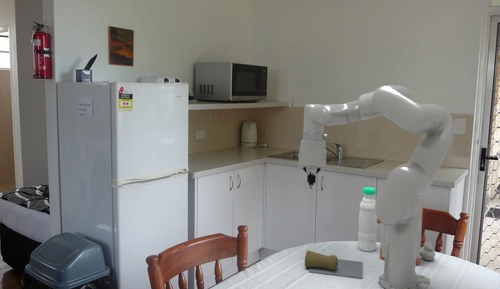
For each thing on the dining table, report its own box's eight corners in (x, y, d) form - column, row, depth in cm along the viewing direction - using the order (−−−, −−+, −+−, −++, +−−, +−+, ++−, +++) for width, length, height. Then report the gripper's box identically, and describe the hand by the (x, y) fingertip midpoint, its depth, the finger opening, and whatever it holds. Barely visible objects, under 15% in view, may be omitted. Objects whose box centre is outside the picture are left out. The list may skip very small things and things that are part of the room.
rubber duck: (424, 262, 158) (426, 242, 157) (415, 255, 164) (416, 236, 163) (438, 262, 159) (439, 241, 158) (428, 255, 165) (429, 235, 164)
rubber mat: (362, 262, 157) (362, 261, 157) (362, 278, 144) (362, 277, 144) (313, 257, 162) (313, 256, 162) (309, 272, 148) (309, 271, 148)
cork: (304, 270, 151) (336, 275, 147) (304, 255, 149) (336, 260, 145) (308, 261, 156) (338, 266, 153) (308, 247, 155) (339, 251, 151)
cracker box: (420, 260, 160) (423, 206, 158) (418, 266, 155) (422, 210, 152) (381, 253, 166) (384, 201, 164) (379, 258, 161) (381, 205, 158)
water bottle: (357, 250, 169) (360, 189, 166) (357, 244, 175) (360, 185, 172) (375, 253, 167) (378, 190, 163) (375, 246, 173) (379, 186, 170)
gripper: (333, 136, 162) (331, 183, 164) (294, 135, 165) (293, 181, 168) (332, 139, 155) (330, 188, 157) (292, 137, 158) (290, 185, 161)
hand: (311, 184), depth 163 cm, fingers closed
